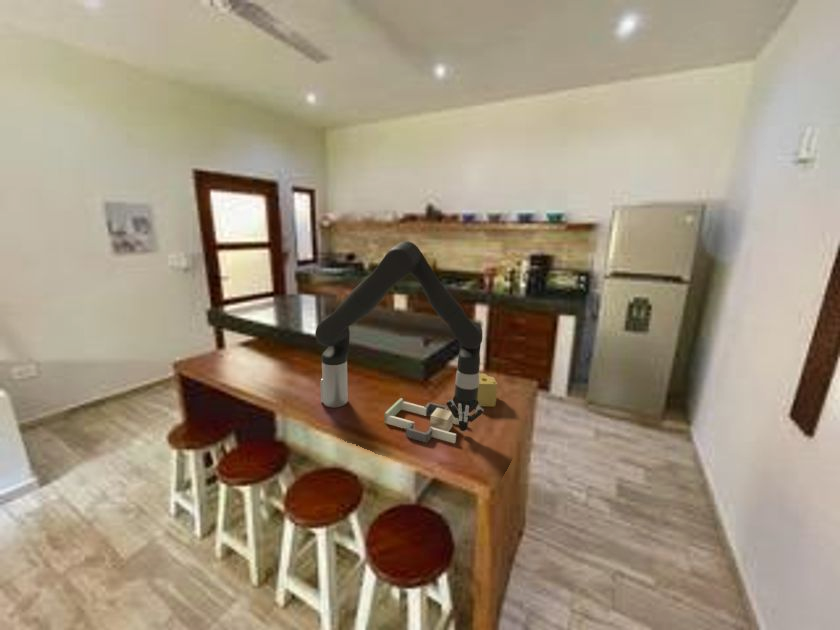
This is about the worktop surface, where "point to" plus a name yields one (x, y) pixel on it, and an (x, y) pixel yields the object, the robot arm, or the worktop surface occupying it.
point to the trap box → (409, 425)
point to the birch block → (441, 419)
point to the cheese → (487, 390)
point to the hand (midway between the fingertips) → (463, 429)
